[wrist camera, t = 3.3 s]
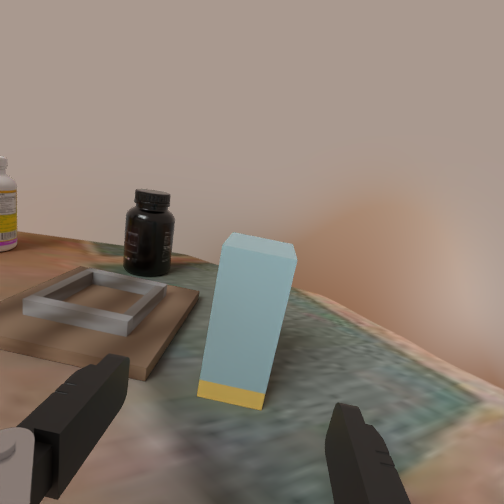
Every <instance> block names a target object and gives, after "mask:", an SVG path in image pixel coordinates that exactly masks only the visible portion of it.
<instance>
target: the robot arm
mask: <svg viewBox="0 0 504 504" xmlns="http://www.w3.org/2000/svg"><path fill="white" fill-rule="evenodd" d="M129 367H130V358H129V357H125V356H121V355H116V354H111V353H109V354H107V355H106V356H105V357H104V358H103V359H102V360H101V361H100V362H99V363H98V364H97V365H93V364H89V365H87V366H85V367H84V368H82V369H80V370H78V371H76V372H75V373H74V374H73V375H71V376H70V377H69V378H68V379H67V380H66V381H65V383H64V384H62V385H61V386H60V387H59V388H58V389H56V391H55V393H52V394H51V395H50V396H49V397H48V398H47V399H46V400H45V401H44V402H43V403H41V404H40V405H39V406H38V407H37V408H36V409H35V410H34V411H33V412H32V413H31V414H30V415H29V416H28V417H26V418H25V419H24V420H23V421H22V422H21V423H20V424H19V425H18V426H17V427H14V428H7V429H3V430H0V504H39V503H40V502H41V501H42V499H43V498H44V497H49V498H53V499H57V500H58V499H59V497H60V496H61V494H62V493H63V491H64V490H65V489H66V487H67V486H68V484H69V483H70V481H71V480H72V478H73V477H74V476H75V474H76V473H77V471H78V470H79V468H80V467H81V465H82V464H83V462H84V461H85V460H86V458H87V457H88V455H89V454H90V452H91V451H92V449H93V448H94V447H95V445H96V444H97V442H98V441H99V439H100V438H101V436H102V435H103V434H104V432H105V431H106V429H107V428H108V426H109V425H110V423H111V422H112V421H113V419H114V418H115V416H116V415H117V413H118V412H119V410H120V409H121V407H122V405H123V403H124V401H125V398H126V395H127V388H128V378H129ZM325 455H326V460H327V466H328V471H329V477H330V482H331V487H332V493H333V498H334V503H335V504H411V503H410V501H409V498H408V496H407V494H406V491H405V489H404V487H403V484H402V482H401V479H400V477H399V475H398V472H397V470H396V469H395V468H394V466H395V465H394V463H393V461H392V458H391V456H389V451H388V449H387V447H386V444H385V442H384V440H383V438H382V437H381V436H380V434H379V433H378V432H377V431H376V429H375V428H374V427H373V426H372V425H368V424H365V422H364V419H363V417H362V414H361V411H360V409H359V408H358V407H357V406H352V405H347V404H343V403H336V405H335V408H334V411H333V414H332V418H331V421H330V424H329V428H328V431H327V434H326V440H325Z"/></svg>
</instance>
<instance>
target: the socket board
mask: <svg viewBox="0 0 504 504" xmlns="http://www.w3.org/2000/svg"><path fill="white" fill-rule="evenodd" d="M198 297H199V291H196V290H191V289H186V288H181V287H177V286H172V285H167V284H165V283H160V282H155V281H150V280H146V279H141V278H136V277H131V276H127V275H122V274H117V273H112V272H108V271H103V270H98V269H93V268H86V267H78V268H76V269H74V270H71V271H69V272H67V273H65V274H62V275H60V276H58V277H55V278H53V279H51V280H48V281H46V282H44V283H42V284H39V285H37V286H35V287H32V288H30V289H28V290H25V291H23V292H21V293H19V294H16V295H14V296H12V297H9V298H7V299H5V300H2V301H0V349H1V350H6V351H10V352H15V353H19V354H24V355H28V356H33V357H37V358H42V359H46V360H51V361H55V362H60V363H65V364H69V365H74V366H78V367H83V368H84V367H85V366H87V365H89V364H93V365H97V364H98V363H99V362H100V361H101V360H102V359H103V358H104V357H105V356H106V355H107V354H109V353H111V354H116V355H121V356H125V357H129V358H130V367H129V378H132V379H137V380H142V381H145V380H146V379H147V377H148V376H149V374H150V373H151V371H152V370H153V368H154V367H155V365H156V364H157V362H158V360H159V359H160V357H161V356H162V354H163V353H164V351H165V350H166V348H167V347H168V345H169V344H170V342H171V341H172V339H173V337H174V336H175V334H176V333H177V331H178V330H179V328H180V327H181V325H182V324H183V322H184V321H185V319H186V318H187V316H188V314H189V313H190V311H191V310H192V308H193V307H194V305H195V304H196V302H197V301H198Z"/></svg>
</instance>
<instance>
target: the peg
mask: <svg viewBox="0 0 504 504" xmlns="http://www.w3.org/2000/svg"><path fill="white" fill-rule="evenodd" d="M296 263H297V257H296V254H295V250H294V247H293V244H289V243H284V242H279V241H274V240H269V239H264V238H259V237H255V236H249V235H245V234H240V233H235V232H233V233H232V234H231V235H230V236H229V238H228V239H227V240H226V242H224V244H223V245H222V251H221V257H220V264H219V269H218V274H217V280H216V286H215V292H214V298H213V304H212V310H211V316H210V321H209V327H208V333H207V339H206V345H205V351H204V357H203V363H202V368H201V374H200V380H199V386H198V392H197V396H198V397H203V398H207V399H212V400H216V401H221V402H225V403H230V404H234V405H239V406H243V407H248V408H252V409H257V410H262V406H263V402H264V397H265V393H266V389H267V385H268V381H269V377H270V372H271V368H272V364H273V360H274V356H275V351H276V347H277V343H278V339H279V335H280V331H281V326H282V322H283V318H284V314H285V310H286V306H287V301H288V297H289V293H290V289H291V284H292V280H293V276H294V272H295V268H296Z"/></svg>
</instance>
